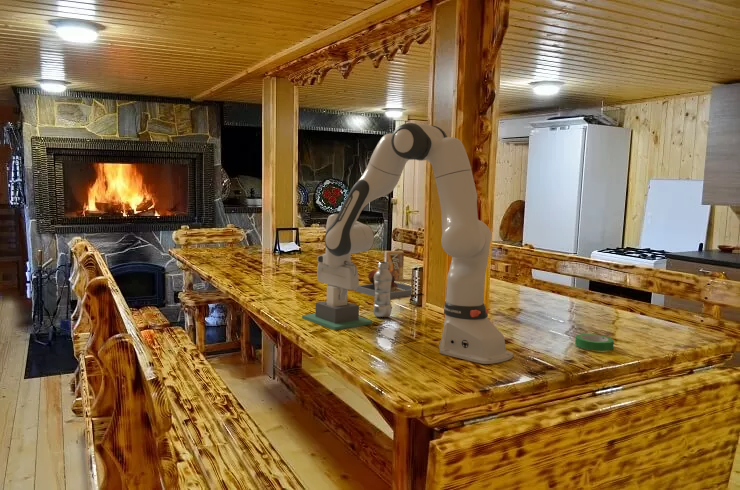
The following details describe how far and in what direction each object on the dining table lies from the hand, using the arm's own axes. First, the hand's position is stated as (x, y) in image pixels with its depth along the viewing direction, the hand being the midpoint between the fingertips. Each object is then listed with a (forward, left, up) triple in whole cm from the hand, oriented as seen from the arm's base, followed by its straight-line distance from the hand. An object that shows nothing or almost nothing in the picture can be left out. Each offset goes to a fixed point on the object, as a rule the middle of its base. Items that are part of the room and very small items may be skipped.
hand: (337, 298), depth 203 cm
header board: (0, 0, -8) cm, 8 cm away
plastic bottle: (-4, -17, -8) cm, 19 cm away
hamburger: (+33, -49, -8) cm, 60 cm away
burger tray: (+28, -48, -8) cm, 56 cm away
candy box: (+50, -70, -8) cm, 86 cm away
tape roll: (-69, -49, -8) cm, 85 cm away
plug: (0, 0, -5) cm, 5 cm away
